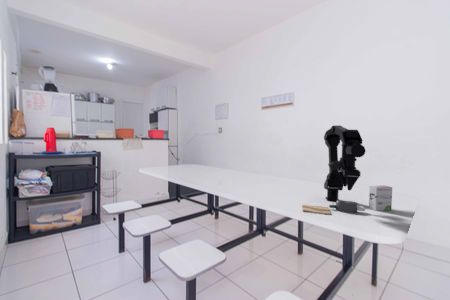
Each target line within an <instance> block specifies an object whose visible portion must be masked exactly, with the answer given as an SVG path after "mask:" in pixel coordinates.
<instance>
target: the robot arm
mask: <svg viewBox="0 0 450 300" xmlns="http://www.w3.org/2000/svg"><path fill="white" fill-rule="evenodd" d="M323 140H324V143H325V146H327V148H328V164H327V165H328V168H329V169H328V170H329V171H328V174H327V175H326V179H325V181H324V183H323V188H324V189H325V190H327V191H326V192H327V193H326V197H325V199H326V201H329V202H330V201H331V202H336V200H340V199H339V191H343V189H344V187H347V190H348V191H352V189H353V187H354V186H355V184H356V182H357V180H358V179H359V178H360V177H361V171H360V170H359V169H357V167H356V161H357V158H362V157H364V155H365V154H366V149H365V146H364V145H363V138H362V136H361V133H360V132H359V130H358V129H348V128H345V127H344V126H342V125H331V128H329V129H328V130H326V131H325V133H324V135H323ZM339 144H341V157H340V158H339V156H338V154H339V153H338V146H339Z"/></svg>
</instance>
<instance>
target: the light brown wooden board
mask: <svg viewBox="0 0 450 300" xmlns="http://www.w3.org/2000/svg"><path fill="white" fill-rule="evenodd" d="M301 208H302V212H303V213H312V214H318V215H319V214H321V215H329V216H331V214H332V213H331V211H330V208H329V207H327V206H318V205H311V204H310V205H309V204H302V205H301Z"/></svg>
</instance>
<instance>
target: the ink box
mask: <svg viewBox="0 0 450 300" xmlns="http://www.w3.org/2000/svg"><path fill="white" fill-rule="evenodd" d="M368 195H369V198H368V208H369V209H370V210H373V211H375V212H377V211H378V212H379V211H392V205H393V204H392V203H393V202H392V201H393V200H392V199H393V187H392V186H389V185H369V194H368Z"/></svg>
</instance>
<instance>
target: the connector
mask: <svg viewBox="0 0 450 300" xmlns="http://www.w3.org/2000/svg"><path fill="white" fill-rule="evenodd" d="M328 206H329V207H328V208H329V209H330V208H332V209H335V211H336V210H337V212H341V213H347V214H348V213H351V214H357V212H358V211H361V212H365V210H366V208H365V207H364V206H363V205H358V202H356V201H352V200H340V199H339V200H336V201H335V204H329V205H328Z"/></svg>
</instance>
